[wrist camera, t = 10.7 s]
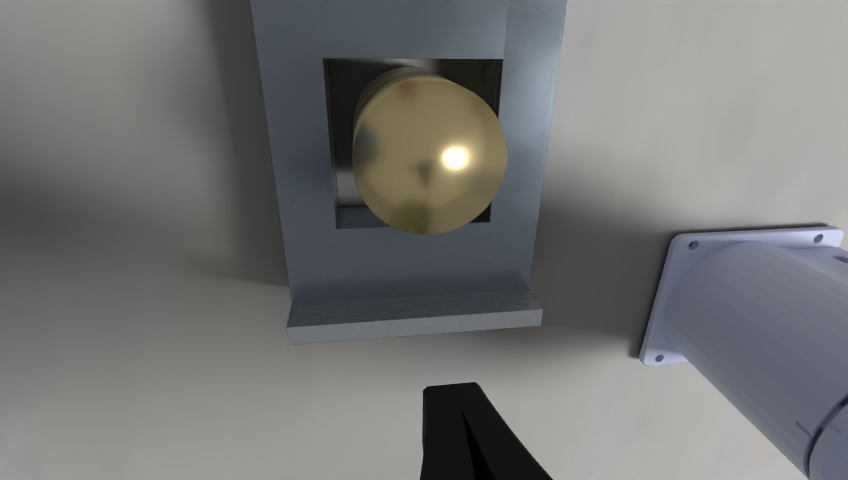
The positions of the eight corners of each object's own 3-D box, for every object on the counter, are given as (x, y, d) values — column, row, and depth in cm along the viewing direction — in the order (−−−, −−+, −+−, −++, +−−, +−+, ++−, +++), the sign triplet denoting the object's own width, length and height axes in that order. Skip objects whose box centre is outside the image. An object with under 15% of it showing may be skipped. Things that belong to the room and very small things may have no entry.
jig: (547, -66, 16) (604, -96, 12) (510, 276, 21) (540, 325, 18) (254, -79, 14) (219, -117, 11) (300, 289, 20) (288, 345, 17)
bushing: (470, 74, 17) (521, 91, 12) (453, 181, 19) (491, 239, 14) (357, 59, 16) (357, 70, 11) (350, 173, 18) (347, 230, 13)
